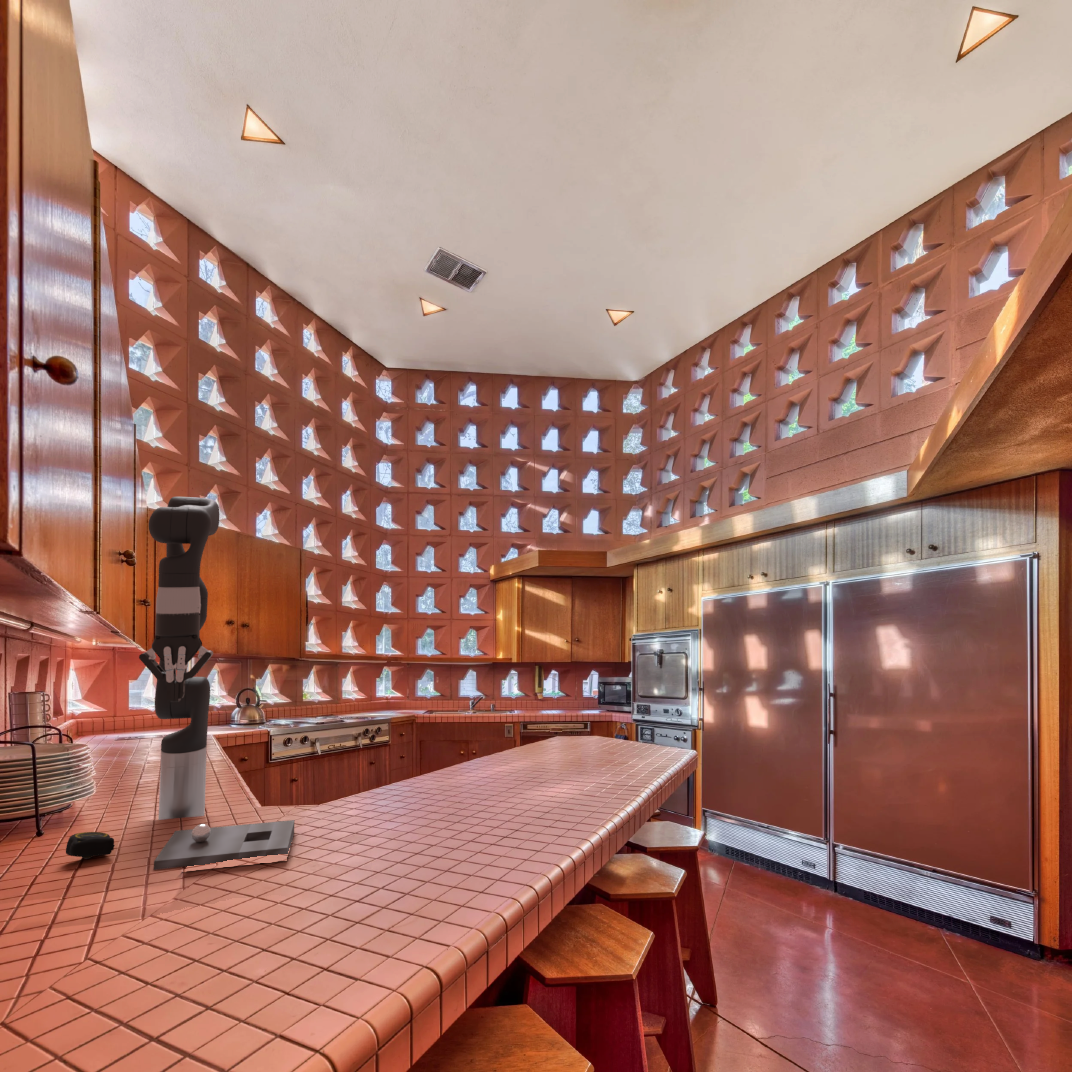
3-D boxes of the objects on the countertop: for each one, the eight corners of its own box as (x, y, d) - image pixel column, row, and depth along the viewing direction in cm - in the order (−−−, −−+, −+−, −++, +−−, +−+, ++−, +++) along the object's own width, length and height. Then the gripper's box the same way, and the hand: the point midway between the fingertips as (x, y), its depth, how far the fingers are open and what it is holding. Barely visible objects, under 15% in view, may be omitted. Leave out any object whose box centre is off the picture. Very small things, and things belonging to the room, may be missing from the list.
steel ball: (190, 840, 123) (190, 823, 123) (208, 836, 125) (209, 819, 125) (192, 846, 120) (193, 828, 120) (211, 842, 122) (212, 825, 122)
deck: (153, 875, 114) (154, 861, 114) (174, 843, 128) (175, 830, 128) (287, 861, 120) (287, 847, 120) (294, 832, 133) (294, 819, 134)
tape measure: (68, 862, 116) (73, 839, 117) (60, 854, 121) (65, 832, 122) (111, 859, 121) (116, 837, 122) (102, 851, 126) (107, 830, 127)
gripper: (133, 612, 120) (130, 707, 120) (212, 611, 124) (209, 703, 123) (145, 609, 127) (142, 699, 127) (219, 608, 131) (217, 695, 130)
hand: (175, 701), depth 125 cm, fingers closed
